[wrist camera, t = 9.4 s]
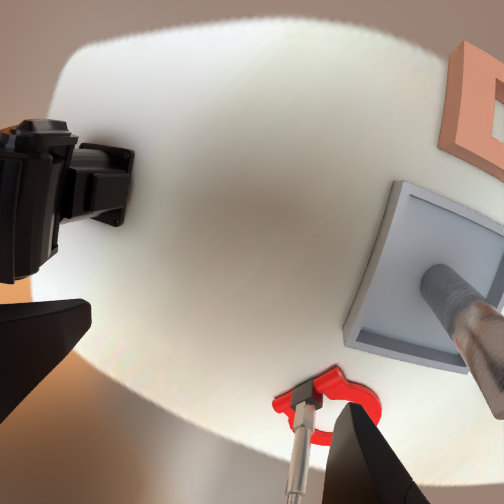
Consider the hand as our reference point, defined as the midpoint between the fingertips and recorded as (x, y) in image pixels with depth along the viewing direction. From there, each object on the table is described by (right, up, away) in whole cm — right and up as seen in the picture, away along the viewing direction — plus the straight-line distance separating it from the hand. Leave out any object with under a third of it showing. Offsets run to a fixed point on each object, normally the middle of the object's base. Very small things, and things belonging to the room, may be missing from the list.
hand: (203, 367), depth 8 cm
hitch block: (+20, +13, +6) cm, 24 cm away
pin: (+15, +1, +9) cm, 17 cm away
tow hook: (+9, -11, +15) cm, 20 cm away
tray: (+15, +1, +10) cm, 18 cm away
